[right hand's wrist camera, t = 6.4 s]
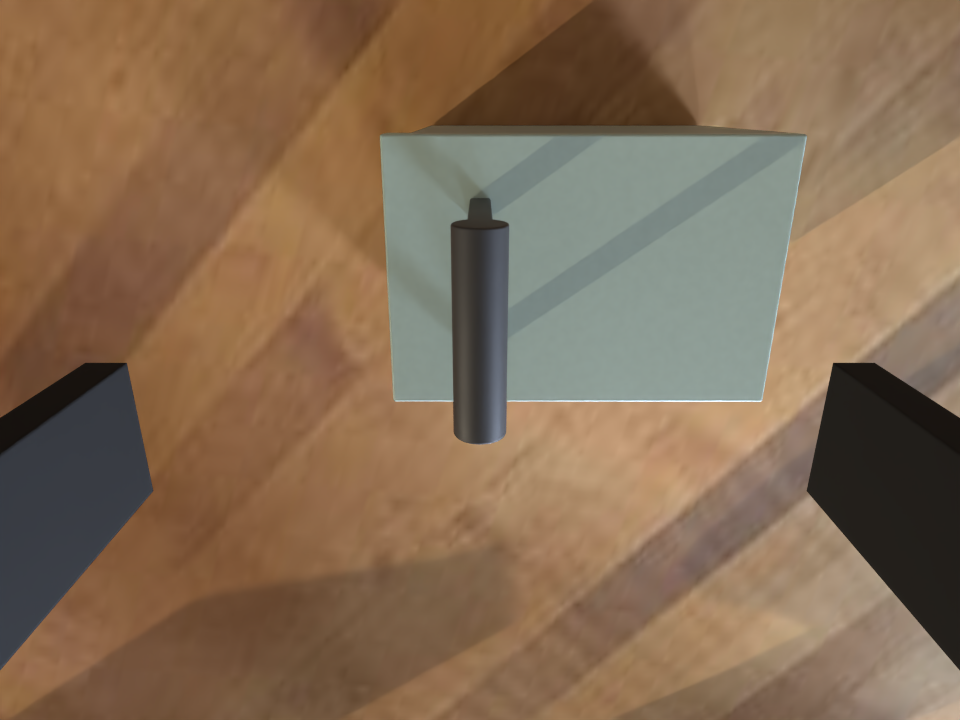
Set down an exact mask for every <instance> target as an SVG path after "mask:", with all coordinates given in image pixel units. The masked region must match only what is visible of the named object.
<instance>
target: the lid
mask: <svg viewBox="0 0 960 720" xmlns="http://www.w3.org/2000/svg"><path fill="white" fill-rule="evenodd" d="M806 138H807V135H805V134H798V133H384V134H381V135H380V149H381V169H382V188H383V207H384V226H385V246H386V265H387V284H388V304H389V323H390V342H391V361H392V381H393V399H394V401H453V415H454V434H455V436H456V437H457V438H458V439H459V440H461V441H463V442H466V443H470V444H490V443H494V442H497V441H499V440H501V439H502V438H503V437H504V436H505V434H506V408H507V401H758V402H760V401H762V398H763V392H764V386H765V380H766V374H767V368H768V363H769V357H770V351H771V345H772V339H773V333H774V327H775V321H776V315H777V309H778V303H779V298H780V292H781V286H782V280H783V274H784V268H785V262H786V256H787V250H788V244H789V239H790V233H791V227H792V221H793V215H794V209H795V203H796V197H797V191H798V185H799V179H800V174H801V168H802V162H803V156H804V150H805V144H806Z"/></svg>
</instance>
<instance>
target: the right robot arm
mask: <svg viewBox="0 0 960 720" xmlns="http://www.w3.org/2000/svg"><path fill="white" fill-rule="evenodd" d="M152 492H153V487H152V483H151V478H150V473H149V468H148V463H147V458H146V454H145V449H144V444H143V439H142V434H141V430H140V425H139V420H138V415H137V410H136V405H135V401H134V396H133V391H132V386H131V381H130V377H129V372H128V367H127V363H85V364H83V365H82V366H80V367H78V368H77V369H75V370H74V371H72V372H71V373H69V374H68V375H66V376H65V377H63V378H61V379H60V380H58V381H57V382H55V383H54V384H52V385H51V386H49V387H48V388H46V389H44V390H43V391H41V392H40V393H38V394H37V395H35V396H34V397H32V398H30V399H29V400H27V401H26V402H24V403H23V404H21V405H20V406H18V407H17V408H15V409H13V410H12V411H10V412H9V413H7V414H6V415H4V416H3V417H1V418H0V670H1V669H2V668H3V666H4V665H5V664H6V663H7V662H8V660H9V659H10V658H11V657H12V656H13V655H14V653H15V652H16V651H17V650H18V649H19V648H20V646H21V645H22V644H23V643H24V642H25V641H26V639H27V638H28V637H29V636H30V635H31V634H32V632H33V631H34V630H35V629H36V628H37V627H38V625H39V624H40V623H41V622H42V621H43V619H44V618H45V617H46V616H47V615H48V614H49V612H50V611H51V610H52V609H53V608H54V607H55V605H56V604H57V603H58V602H59V601H60V600H61V598H62V597H63V596H64V595H65V594H66V593H67V591H68V590H69V589H70V588H71V587H72V585H73V584H74V583H75V582H76V581H77V580H78V578H79V577H80V576H81V575H82V574H83V573H84V571H85V570H86V569H87V568H88V567H89V566H90V564H91V563H92V562H93V561H94V560H95V559H96V557H97V556H98V555H99V554H100V553H101V552H102V550H103V549H104V548H105V547H106V546H107V544H108V543H109V542H110V541H111V540H112V539H113V537H114V536H115V535H116V534H117V533H118V532H119V530H120V529H121V528H122V527H123V526H124V525H125V523H126V522H127V521H128V520H129V519H130V518H131V516H132V515H133V514H134V513H135V512H136V510H137V509H138V508H139V507H140V506H141V505H142V503H143V502H144V501H145V500H146V499H147V498H148V496H149V495H150V494H151V493H152ZM807 492H808V493H809V494H810V495H811V496H812V498H813V499H814V500H815V501H816V502H817V503H818V505H819V506H820V507H821V508H822V509H823V510H824V512H825V513H826V514H827V515H828V516H829V518H830V519H831V520H832V521H833V522H834V523H835V525H836V526H837V527H838V528H839V529H840V530H841V532H842V533H843V534H844V535H845V536H846V537H847V539H848V540H849V541H850V542H851V543H852V544H853V546H854V547H855V548H856V549H857V550H858V552H859V553H860V554H861V555H862V556H863V557H864V559H865V560H866V561H867V562H868V563H869V564H870V566H871V567H872V568H873V569H874V570H875V571H876V573H877V574H878V575H879V576H880V577H881V578H882V580H883V581H884V582H885V583H886V584H887V585H888V587H889V588H890V589H891V590H892V591H893V593H894V594H895V595H896V596H897V597H898V598H899V600H900V601H901V602H902V603H903V604H904V605H905V607H906V608H907V609H908V610H909V611H910V612H911V614H912V615H913V616H914V617H915V618H916V619H917V621H918V622H919V623H920V624H921V625H922V627H923V628H924V629H925V630H926V631H927V632H928V634H929V635H930V636H931V637H932V638H933V639H934V641H935V642H936V643H937V644H938V645H939V646H940V648H941V649H942V650H943V651H944V652H945V653H946V655H947V656H948V657H949V658H950V659H951V660H952V662H953V663H954V664H955V665H956V666H957V668H958V669H959V670H960V418H959V417H957V416H956V415H954V414H953V413H951V412H950V411H948V410H947V409H945V408H943V407H942V406H940V405H939V404H937V403H936V402H934V401H933V400H931V399H930V398H928V397H926V396H925V395H923V394H922V393H920V392H919V391H917V390H916V389H914V388H912V387H911V386H909V385H908V384H906V383H905V382H903V381H902V380H900V379H899V378H897V377H895V376H894V375H892V374H891V373H889V372H888V371H886V370H885V369H883V368H882V367H880V366H878V365H877V364H875V363H833V367H832V372H831V377H830V381H829V386H828V391H827V396H826V401H825V405H824V410H823V415H822V420H821V425H820V430H819V434H818V439H817V444H816V449H815V454H814V458H813V463H812V468H811V473H810V478H809V483H808V487H807Z"/></svg>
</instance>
